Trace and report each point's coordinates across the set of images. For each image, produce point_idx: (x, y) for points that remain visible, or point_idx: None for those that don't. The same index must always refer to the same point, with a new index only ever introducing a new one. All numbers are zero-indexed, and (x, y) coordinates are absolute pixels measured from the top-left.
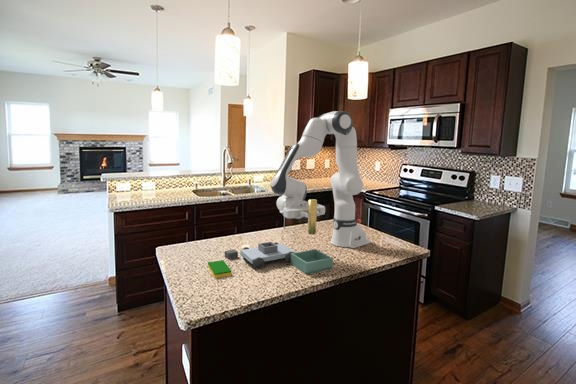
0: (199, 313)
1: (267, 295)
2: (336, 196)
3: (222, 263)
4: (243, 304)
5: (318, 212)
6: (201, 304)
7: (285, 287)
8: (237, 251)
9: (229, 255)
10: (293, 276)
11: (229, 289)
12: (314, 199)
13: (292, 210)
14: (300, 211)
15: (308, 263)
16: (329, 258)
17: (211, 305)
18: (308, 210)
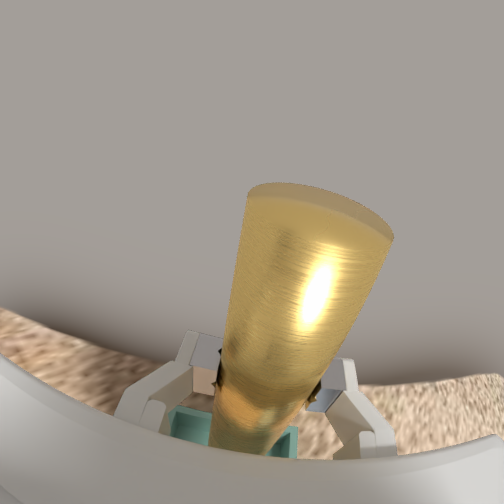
0: (495, 380)
1: (417, 391)
2: None
3: None
4: (453, 380)
5: (199, 333)
6: (498, 401)
7: (375, 405)
8: None
9: None
10: (328, 451)
11: (473, 437)
12: (269, 205)
13: (479, 445)
14: (386, 458)
15: (288, 426)
16: (184, 409)
17: (488, 394)
18: (329, 364)
